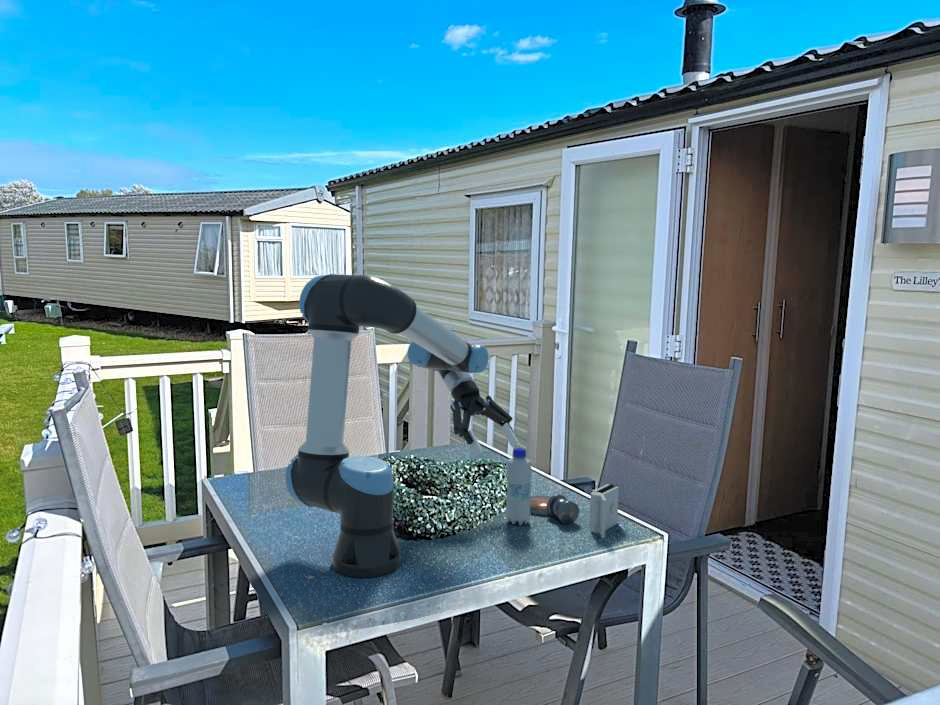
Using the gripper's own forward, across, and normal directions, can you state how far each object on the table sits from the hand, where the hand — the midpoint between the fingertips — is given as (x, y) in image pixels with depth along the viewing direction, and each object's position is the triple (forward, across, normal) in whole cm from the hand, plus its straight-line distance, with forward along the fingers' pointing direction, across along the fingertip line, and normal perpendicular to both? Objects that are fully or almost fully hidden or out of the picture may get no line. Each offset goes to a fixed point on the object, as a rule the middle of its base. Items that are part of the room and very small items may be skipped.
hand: (497, 448), depth 184 cm
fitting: (+19, -12, -6) cm, 23 cm away
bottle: (+19, +1, -6) cm, 20 cm away
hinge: (+32, -13, +6) cm, 35 cm away
